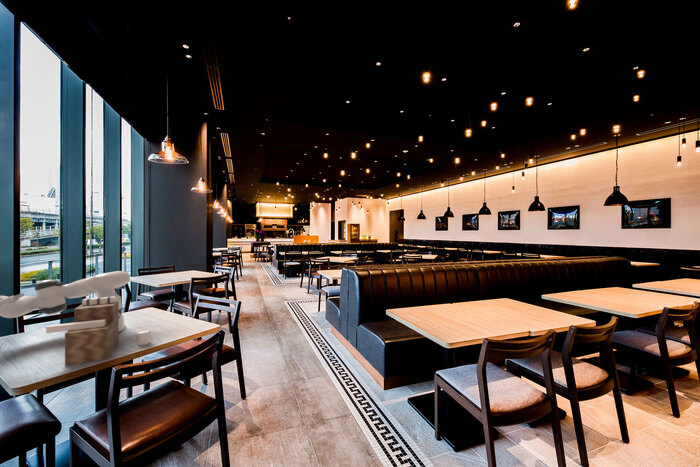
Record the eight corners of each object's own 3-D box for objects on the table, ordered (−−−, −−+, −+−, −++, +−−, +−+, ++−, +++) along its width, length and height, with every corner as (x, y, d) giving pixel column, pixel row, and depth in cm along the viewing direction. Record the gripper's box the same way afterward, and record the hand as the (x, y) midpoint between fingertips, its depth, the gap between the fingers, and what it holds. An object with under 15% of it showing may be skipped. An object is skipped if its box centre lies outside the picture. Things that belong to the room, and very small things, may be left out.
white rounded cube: (141, 341, 170) (141, 329, 170) (153, 340, 171) (153, 329, 171) (133, 345, 164) (133, 333, 163) (145, 345, 164) (145, 333, 164)
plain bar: (46, 333, 139) (46, 327, 139) (49, 331, 142) (49, 325, 142) (103, 326, 150) (103, 320, 149) (105, 324, 152) (105, 319, 152)
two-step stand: (65, 365, 139) (64, 315, 139) (82, 347, 160) (82, 303, 160) (106, 359, 147) (106, 311, 146) (118, 342, 168) (118, 300, 168)
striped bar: (81, 305, 157) (81, 300, 157) (84, 304, 159) (83, 298, 159) (114, 302, 163) (114, 297, 163) (115, 301, 166) (115, 296, 166)
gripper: (0, 313, 144) (33, 296, 150) (-28, 325, 126) (11, 306, 132) (-10, 303, 143) (24, 287, 148) (-39, 313, 125) (0, 295, 130)
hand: (18, 296), depth 140 cm, fingers open, 8 cm apart
